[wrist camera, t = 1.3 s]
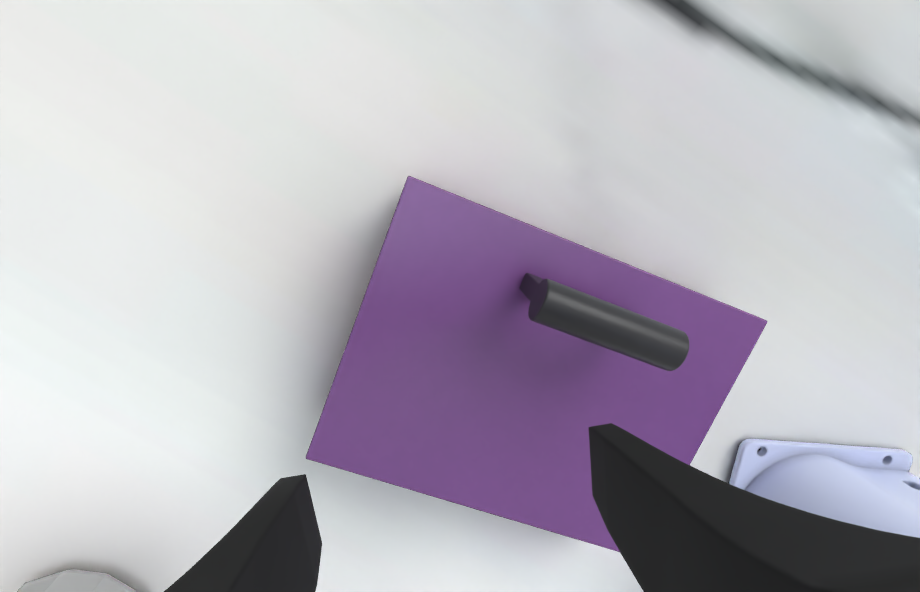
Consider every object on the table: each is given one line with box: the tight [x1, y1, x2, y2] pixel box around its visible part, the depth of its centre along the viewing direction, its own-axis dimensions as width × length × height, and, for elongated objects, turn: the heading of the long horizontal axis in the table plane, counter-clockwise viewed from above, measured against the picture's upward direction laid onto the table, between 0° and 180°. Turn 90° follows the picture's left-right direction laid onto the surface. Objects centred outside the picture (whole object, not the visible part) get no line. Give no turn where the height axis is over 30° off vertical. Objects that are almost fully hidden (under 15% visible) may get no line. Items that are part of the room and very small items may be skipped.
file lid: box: [306, 176, 767, 552], centre depth 18 cm, size 12×15×4 cm
